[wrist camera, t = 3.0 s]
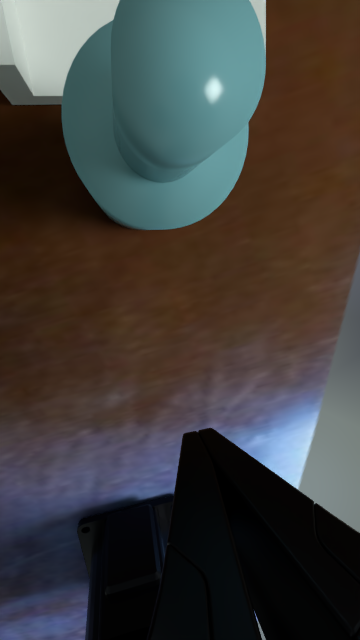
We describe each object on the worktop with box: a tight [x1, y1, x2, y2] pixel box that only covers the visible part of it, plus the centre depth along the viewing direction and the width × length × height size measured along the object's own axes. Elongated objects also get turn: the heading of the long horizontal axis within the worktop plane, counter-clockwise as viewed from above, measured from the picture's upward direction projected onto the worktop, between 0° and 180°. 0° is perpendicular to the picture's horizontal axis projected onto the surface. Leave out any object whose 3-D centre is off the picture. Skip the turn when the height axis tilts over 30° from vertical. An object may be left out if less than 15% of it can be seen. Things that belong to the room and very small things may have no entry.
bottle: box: [62, 0, 266, 230], centre depth 9 cm, size 4×4×10 cm
